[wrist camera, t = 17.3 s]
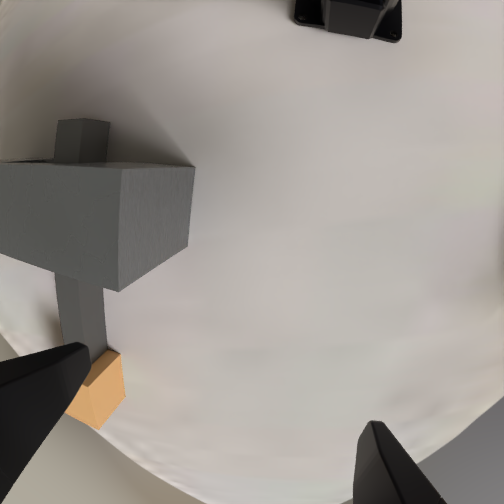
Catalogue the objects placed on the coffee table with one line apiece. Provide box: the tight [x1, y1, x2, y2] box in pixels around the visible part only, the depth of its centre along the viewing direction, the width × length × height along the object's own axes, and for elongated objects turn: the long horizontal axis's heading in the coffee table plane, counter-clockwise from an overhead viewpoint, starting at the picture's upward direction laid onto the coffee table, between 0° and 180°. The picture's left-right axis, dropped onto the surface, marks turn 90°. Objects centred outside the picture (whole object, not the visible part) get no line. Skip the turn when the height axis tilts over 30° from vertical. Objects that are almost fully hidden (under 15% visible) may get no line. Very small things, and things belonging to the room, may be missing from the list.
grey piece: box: [0, 158, 195, 292], centre depth 16 cm, size 5×16×8 cm, turn 82°
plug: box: [54, 118, 126, 430], centre depth 20 cm, size 24×5×5 cm, turn 172°
